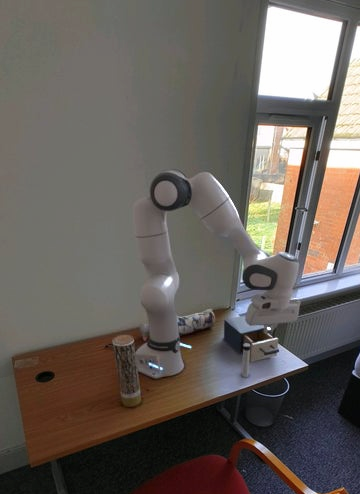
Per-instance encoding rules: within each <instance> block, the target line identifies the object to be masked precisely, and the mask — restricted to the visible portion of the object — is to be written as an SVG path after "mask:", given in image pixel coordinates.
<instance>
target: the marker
mask: <svg viewBox="0 0 360 494" xmlns="http://www.w3.org/2000/svg"><path fill="white" fill-rule="evenodd" d="M249 356H250V344H248V343H245V344H243V353H242V365H241V366H242V368H241V376H242V377H243V378H249V369H250V357H249Z"/></svg>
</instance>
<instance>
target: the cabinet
mask: <svg viewBox="0 0 360 494" xmlns="http://www.w3.org/2000/svg"><path fill="white" fill-rule="evenodd" d="M245 316H246V314H245V315H241V316H235V317H230V318H226V319H224V321H223V340H224V341H225V342H227V343H228V345H230V346H231V347H232V348H233V349H234V350H235V351H236V352H237V353H238V354H239V355H241V354H243V350H242V336H243V335H244V334H249V333H253V332H257V331H262V330H264V326H263V325H255V326H250V325H249V324H248V323H247V322H246V321H245Z"/></svg>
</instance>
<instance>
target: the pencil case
mask: <svg viewBox="0 0 360 494" xmlns="http://www.w3.org/2000/svg"><path fill="white" fill-rule="evenodd" d="M213 310H214V309H212V308H208V309H205V310H203V311H200V312H196V313H195V312H194V313H191V314H188V315H184V316H183V315H182V316H178V315H177V317H178V333H179V335H180V337H182V336H185V335H189V334H192V333H195V332H198V331H201V330H205V329H208V328H212V327H214V325H215V323H216V316H215V313H214V312H213Z"/></svg>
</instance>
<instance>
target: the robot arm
mask: <svg viewBox="0 0 360 494" xmlns="http://www.w3.org/2000/svg"><path fill="white" fill-rule="evenodd" d="M187 206H190V208H192V209H193V211H194V212H195V213H196V215H197V216H198V218H199V220H200V221H201V222H202V224H203V225H204V227H205V228H206V229H207V230H208V231H209V232H210V233H211V234H212V235H214V236H218V237H224V238H226V239H228V240H229V241H230V243H231V244H232V246H233V247H234V248H235V250H236V251H237V252H238V254H239V255H240V257H241V260H242V266H243V269H242V276H241V279H242V282H243V284H244V285H245V287H246V288H248V289H250V290H253V291H262V292H260V293H257V294H253V295H252V296H251V298H250V301H251V303H250V304H249V305H248V307H247V309H246V313H245V315H246V316H245V321H246V322H247V323H248V324H249V325H250V326H255V325H263V326H264V333H265V334H273V333H274V330H275V329H276V328H277V327H278V325H279V324H288V323H289V324H290V323H295V322H296V321H298V318H299V313H300V306H301V303H302V301H301V299H299V298H298V297H292V295H293V288H294V286H295V284H296V281H297V277H298V274H299V269H300V263H299V260H298V258H297V257H296V256H295V255H293V254H291V253H289V252H286V251H279V252H277V253H275V254H274V255H270V254H269V253H267V251H266V250H263V249H262V248H261V247H259V246H257V244H256V242H254V240H253V239H252V237H251V236H250V234H249V233H248V231H247V230H246V228H245V227H244V225H243V223H242V221H241V218H240V215H239V213H238V210H237V208H236V206H235V205H234V202H233V201H232V199H231V198H230V195H229V194H228V193H227V191H226V190H225V188H224V187H223V186H222V185H221V183H220V182H219V181H218V180H217V178H215V176H214V175H213V174H211V173H210V172H207V171H201V172H199V173H196V174H195V175H194V176H192V177H190V178H187V176H186V175H185V174H184V173H183V172H182V171H181V170H179V169H176V168H169V169H165V170H162V171H161V172H159V173H158V174H157V175H156V176H155V177H154V178H153V179H152V182H151V183H150V187H149V195H148V196H144V197H141V198H139V199H137V200H136V201H135V202H134V203H133V206H132V224H133V225H132V226H133V232H134V239H135V243H136V249H137V254H138V259H139V260H140V262H141V263H142V265H143V266H144V269H145V272H146V275H147V280H146V281H145V282H144V284H143V285H142V287H141V290H140V294H139V301H140V304H141V306H142V308H143V309H144V310H145V313H146V317H147V321H148V324H149V332H150V333H148V334H146V336H145V339H144V340H143V341H144V343H143V344H140V345H138V346H135V352H136V360H137V369H138V373H141V374H143V375H145V376H147V377H149V378H151V379H154V380H155V379H157V380H158V379H161V378H163V377H171V376H174V375H177V374H179V373H181V372H182V371H183V370H184V368H185V363H184V362H183V357H182V354H181V346H182V347H185V348H189V349H192V346H191V345H187V344H184V343H182V342H181V338H180V337H181V336H180V335H179V333H178V315H177V313H176V309H175V305H174V304H175V301H174V300H175V297H176V296H175V295H176V294H177V292H178V290H179V287H180V276H179V273H178V272H177V268H176V265H175V264H176V263H175V262H174V258H173V254H172V249H171V243H170V236H169V230H168V222H167V214H168V212H173V211H176V210H179V209H181V208H184V207H187ZM107 344H108V345H112V346H111V347H113V343H107ZM107 344H106V345H104V347H105V348H108V347H109V346H107Z"/></svg>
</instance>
